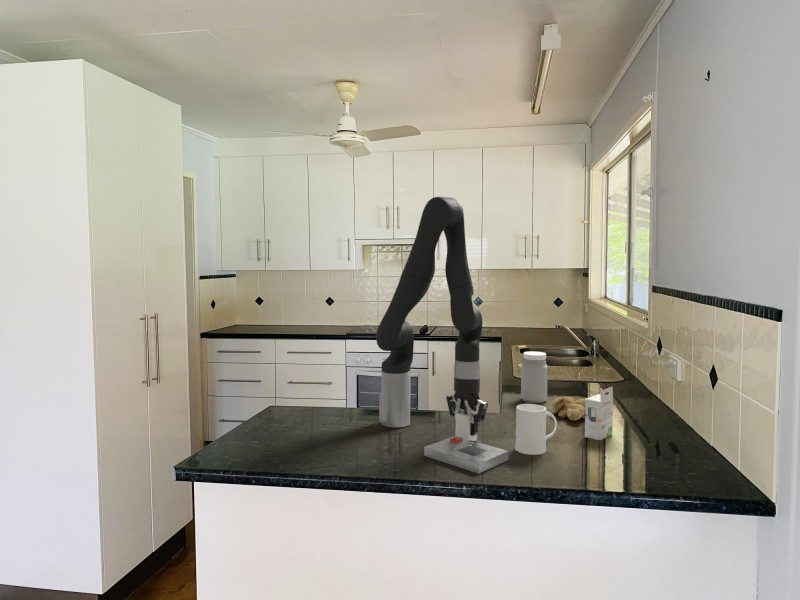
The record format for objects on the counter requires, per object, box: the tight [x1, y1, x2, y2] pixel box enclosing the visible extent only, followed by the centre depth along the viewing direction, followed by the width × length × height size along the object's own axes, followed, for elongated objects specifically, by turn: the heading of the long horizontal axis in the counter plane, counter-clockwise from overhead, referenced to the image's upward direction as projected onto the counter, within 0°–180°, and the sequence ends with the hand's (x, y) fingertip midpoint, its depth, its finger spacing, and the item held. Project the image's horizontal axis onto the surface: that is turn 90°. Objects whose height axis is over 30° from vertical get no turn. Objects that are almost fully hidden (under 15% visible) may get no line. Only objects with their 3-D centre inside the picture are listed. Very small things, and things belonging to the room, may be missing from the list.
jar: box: [520, 350, 549, 404], centre depth 208 cm, size 10×10×18 cm
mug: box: [514, 403, 558, 456], centre depth 153 cm, size 12×8×12 cm
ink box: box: [584, 386, 614, 441], centre depth 166 cm, size 9×5×15 cm, turn 134°
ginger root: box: [552, 396, 588, 421], centre depth 187 cm, size 16×16×8 cm
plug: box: [454, 410, 478, 442], centre depth 162 cm, size 4×4×10 cm
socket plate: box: [423, 435, 509, 474], centre depth 147 cm, size 18×13×3 cm
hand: (466, 432), depth 162 cm, fingers closed on plug, 4 cm apart
